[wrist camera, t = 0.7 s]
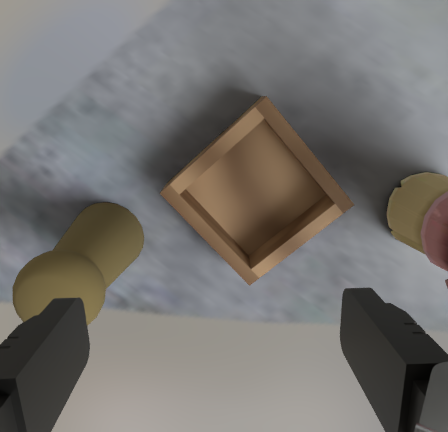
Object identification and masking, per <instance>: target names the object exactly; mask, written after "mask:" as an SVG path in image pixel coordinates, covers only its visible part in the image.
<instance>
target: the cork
mask: <svg viewBox="0 0 448 432" xmlns="http://www.w3.org/2000/svg"><path fill="white" fill-rule="evenodd" d="M143 242H144V234H143V230H142V226H141V224H140V223H139V221H138V219H137V218H136V216H134V215H133V214H132V213H131V212H130V211H129V210H128V209H126V208H124V207H122V206H120V205H118V204H114V203H108V202H103V203H96V204H93V205H91V206H89V207H87V208H85V209H84V210H83V211H82V212H81V213H80V214H79V215H78V216H77V218H76V219H75V220H74V222H73V223H72V224H71V226H70V227H69V229H68V230H67V231H66V233H65V234H64V235H63V237H62V238H61V240H60V241H59V242H58V244H57V245H56V246H55V248H54V249H53V251H49V252H46V253H43V254H41V255H39V256H37V257H35V258H33V259H32V260H31V261H29V262H28V263H27V264H26V265H25V266H24V267H23V268H22V269H21V271H20V272H19V274H18V275H17V277H16V280H15V283H14V285H13V305H14V307H15V310H16V313H17V314H18V316H19V317H20V318H21V319H22V321H23V322H25V321H27V320H28V319H30V318H31V317H33V316H35V315H39V314H40V313H41V312H42V311H43V310H44V309H45V307H46V306H47V305H48V304H49V303H50V302H51V301H52V300H53V299H54V298H78V297H79V298H81V299H82V300H83V303H84V308H85V315H86V322H87V325H88V324H90V323H91V322H92V321H93V320H94V319H95V318H96V317H97V315H98V313H99V312H100V310H101V308H102V306H103V304H104V301H105V291H106V288H107V287H108V286H109V285H110V284H111V283H112V282H113V281H114V280H115V279H116V278H117V277H118V276H119V275H120V274H121V273H122V272H123V271H124V270H125V269H126V268H127V267H128V266H129V265H130V264H131V263H132V262H133V261H134V260H135V259H136V258H137V257H138V256H139V254H140V252H141V250H142V248H143Z"/></svg>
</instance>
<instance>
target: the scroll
mask: <svg viewBox="0 0 448 432" xmlns="http://www.w3.org/2000/svg"><path fill="white" fill-rule="evenodd" d="M387 220H388V225H389V227H390V228H391V229H392V231H391V233H392V235H393V236H394V237H395V239H397V240H399V241H401V242H403V243H405V244H407V245H408V246H410V247H412V248H414V249H416V250H418V251H420V252H422V253H424V254H426V255H427V257H428V259H429V260H430V262H431V263H433V264H435V265H437V266H438V267H440V268H442V269H444V270H446V271H448V177H446V176H444V175H441V174H435V173H429V172H424V173H420V174H415V175H410V176H409V177H407V178H405V179H403V180H401V187H399V188H395V189H394V191H393V193H392V194H391V196H390V198H389V203H388V209H387ZM445 282H446V285H447V288H448V279H447V280H445Z"/></svg>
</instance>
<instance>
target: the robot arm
mask: <svg viewBox="0 0 448 432" xmlns="http://www.w3.org/2000/svg"><path fill="white" fill-rule="evenodd" d="M340 341H341V347H342V351H343V354H344V356H345V358H346V360H347V361H348V363H349V365H350V367H351V369H352V371H353V372H354V374H355V376H356V378H357V380H358V382H359V384H360V385H361V387H362V389H363V391H364V393H365V395H366V397H367V398H368V400H369V402H370V404H371V406H372V408H373V409H374V411H375V413H376V415H377V417H378V419H379V421H380V422H381V424H382V426H383V428H384V430H385V432H448V354H447V353H446V352H445V351H444V350H443V349H442V348H441V347H440V346H439V345H438V344H437V343H436V342H435V341H434V340H433V339H432V338H431V337H430V336H429V335H428V334H426V333H425V331H424V330H423V329H422V328H421V327H420V326H419V325H417V323H416V322H415V321H414V320H413V319H412V318H411V316H410V315H409V314H408V313H407V312H405V311H403V310H402V309H400V308H398V307H396V306H395V305H393V304H391V303H385V302H384V301H383V300H382V299H381V298H380V297H379V296H378V295H377V294H376V293H375V291H374V290H373V289H372V288H347V289H345V290H344V292H343V297H342V311H341V326H340ZM89 349H90V343H89V335H88V329H87V322H86V315H85V308H84V303H83V300H82V299H81V298H79V297H78V298H54V299H53V300H52V301H51V302H50V303H49V304H48V305H47V306H46V307H45V309H44V310H43V311H42V312H41V313H40V314H39V315H35V316H33V317H31V318H30V319H28V320H27V321H25V322H23V323H22V324H20V325H18V327H17V328H16V329H15V330H14V331H13V332H12V333H11V334H10V335H9V336H8V338H7V339H5V340H4V341H3V342H2V344H0V432H51V431H52V429H53V427H54V425H55V423H56V421H57V419H58V417H59V415H60V414H61V411H62V410H63V408H64V406H65V404H66V402H67V400H68V398H69V396H70V394H71V392H72V390H73V389H74V387H75V385H76V383H77V381H78V379H79V377H80V375H81V373H82V371H83V370H84V368H85V366H86V364H87V361H88V357H89Z"/></svg>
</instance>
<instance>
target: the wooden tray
mask: <svg viewBox="0 0 448 432" xmlns="http://www.w3.org/2000/svg"><path fill="white" fill-rule="evenodd" d="M160 194H161V195H162V196H163V197H164V198H165V199H166V200H167V201H168V202H169V203H170V204H171V206H172V207H173V208H174V209H175V210H176V211H177V212H178V213H179V214H180V215H181V216H182V217H183V218H184V219H185V220H186V221H187V222H188V223H189V224H190V225H191V226H192V227H193V228H194V229H195V230H196V231H197V232H198V233H199V234H200V235H201V236H202V237H203V238H204V239H205V240H206V241H207V242H208V243H209V245H210V246H211V247H212V248H213V249H214V250H215V251H216V252H217V253H218V254H219V255H220V256H221V257H222V258H223V259H224V260H225V261H226V262H227V263H228V264H229V265H230V266H231V267H232V268H233V269H234V270H235V271H236V272H237V273H238V274H239V275H240V276H241V277H242V278H243V279H244V280H245V281H246V282H247V283H248V285H249V286H250V285H251V284H252V283H254V282H255V281H256V280H257V279H259V278H260V277H261V276H263V275H264V274H265V273H267V272H268V271H269V270H270V269H272V268H273V267H274V266H276V265H277V264H278V263H280V262H281V261H282V260H283V259H285V258H286V257H287V256H289V255H290V254H291V253H293V252H294V251H295V250H296V249H298V248H299V247H300V246H302V245H303V244H304V243H306V242H307V241H308V240H309V239H311V238H312V237H313V236H315V235H316V234H317V233H318V232H320V231H321V230H322V229H324V228H325V227H326V226H328V225H329V224H330V223H331V222H333V221H334V220H335V219H337V218H338V217H339V216H341V215H342V214H343V213H344V212H346V211H347V210H348V209H350V208H351V207H352V206H354V204H353V202H352V201H351V200H350V199H349V197H348V196H347V195H346V194H345V192H344V191H343V190H342V189H341V188H340V186H339V185H338V184H337V183H336V181H335V180H334V179H333V178H332V176H331V175H330V174H329V173H328V171H327V170H326V169H325V168H324V167H323V165H322V164H321V163H320V162H319V160H318V159H317V158H316V157H315V155H314V154H313V153H312V152H311V150H310V149H309V148H308V147H307V146H306V144H305V143H304V142H303V141H302V139H301V138H300V137H299V136H298V134H297V133H296V132H295V131H294V130H293V128H292V127H291V126H290V125H289V123H288V122H287V121H286V120H285V118H284V117H283V116H282V115H281V113H280V112H279V111H278V110H277V109H276V107H275V106H274V105H273V104H272V102H271V101H270V100H269V99H268V97H267V96H262V97H261V98H260V99H259V100H258V101H256V102H255V103H254V104H253V105H252V106H251V107H250V108H249V109H248V110H247V111H246V112H244V113H243V114H242V115H241V116H240V117H239V118H238V119H237V120H236V121H235V122H233V123H232V124H231V125H230V126H229V127H228V128H227V129H226V130H225V131H224V132H222V133H221V134H220V135H219V136H218V137H217V138H216V139H215V140H214V141H213V142H212V143H210V144H209V145H208V146H207V147H206V148H205V149H204V150H203V151H202V152H201V153H199V154H198V155H197V156H196V157H195V158H194V159H193V160H192V161H191V162H190V163H188V164H187V165H186V166H185V167H184V168H183V169H182V170H181V171H180V172H179V173H177V174H176V175H175V176H174V177H173V178H172V179H171V180H170V181H169V182H168V183H167V184H166V185H165V187H164V188H163V190H162V191H161V192H160Z"/></svg>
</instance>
